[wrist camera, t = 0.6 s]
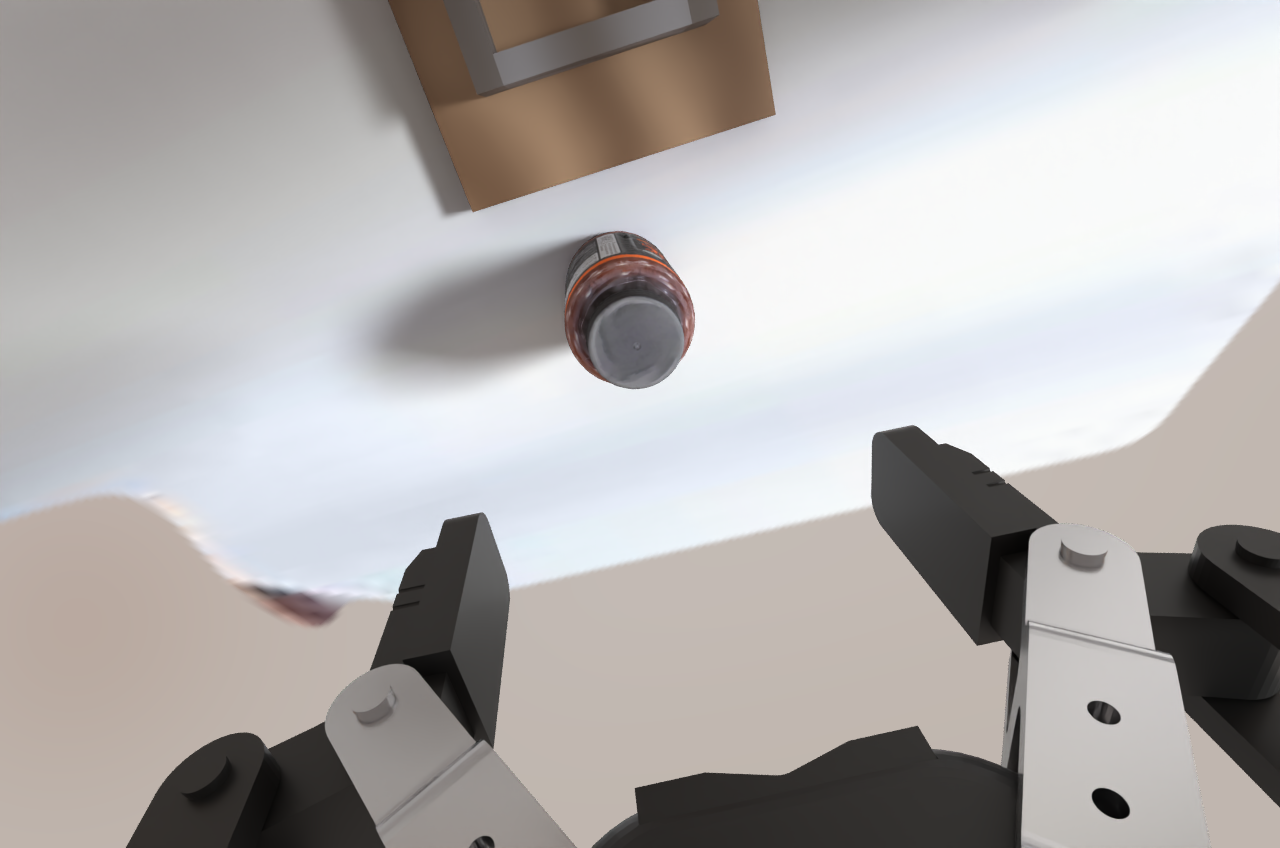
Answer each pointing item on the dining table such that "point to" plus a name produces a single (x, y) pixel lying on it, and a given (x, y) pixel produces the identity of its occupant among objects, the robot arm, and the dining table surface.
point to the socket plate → (580, 82)
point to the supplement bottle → (626, 311)
